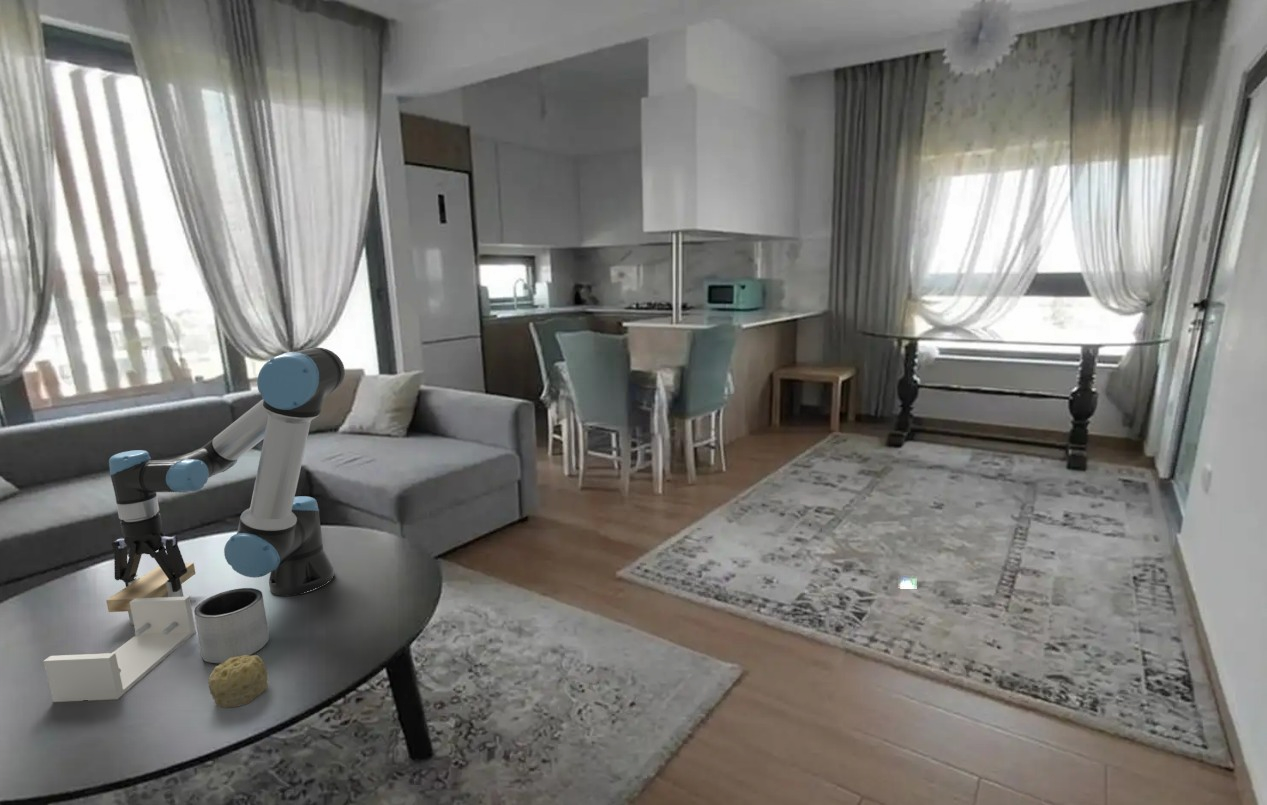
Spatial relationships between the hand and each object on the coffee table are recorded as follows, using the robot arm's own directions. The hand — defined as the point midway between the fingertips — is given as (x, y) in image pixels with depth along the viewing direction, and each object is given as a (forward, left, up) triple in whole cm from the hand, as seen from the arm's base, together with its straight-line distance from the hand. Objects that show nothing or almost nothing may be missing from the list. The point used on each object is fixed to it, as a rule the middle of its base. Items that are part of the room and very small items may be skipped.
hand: (157, 604), depth 152 cm
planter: (-29, +18, -2) cm, 34 cm away
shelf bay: (-9, +22, -2) cm, 24 cm away
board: (0, 0, +3) cm, 3 cm away
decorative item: (-39, +34, -2) cm, 52 cm away
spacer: (0, 0, -2) cm, 2 cm away
